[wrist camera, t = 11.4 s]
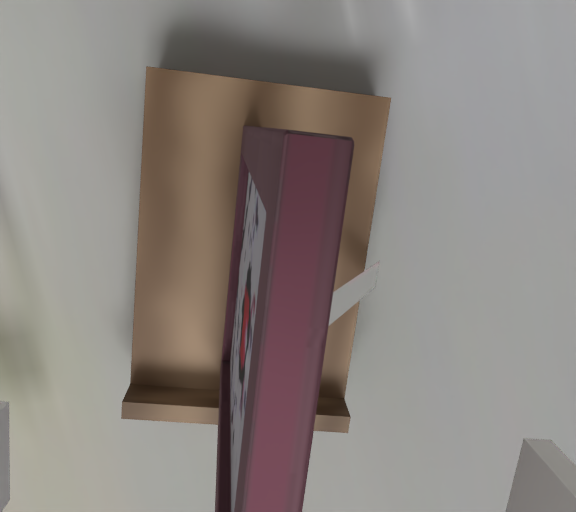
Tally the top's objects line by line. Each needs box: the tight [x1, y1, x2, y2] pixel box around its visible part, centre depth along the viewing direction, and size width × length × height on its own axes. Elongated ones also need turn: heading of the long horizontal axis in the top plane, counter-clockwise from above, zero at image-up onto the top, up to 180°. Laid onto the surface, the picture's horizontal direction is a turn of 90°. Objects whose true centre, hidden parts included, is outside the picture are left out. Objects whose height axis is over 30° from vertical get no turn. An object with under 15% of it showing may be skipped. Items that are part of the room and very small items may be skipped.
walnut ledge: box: [121, 66, 391, 433], centre depth 35 cm, size 15×22×6 cm
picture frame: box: [215, 125, 379, 512], centre depth 23 cm, size 17×10×25 cm, turn 173°
